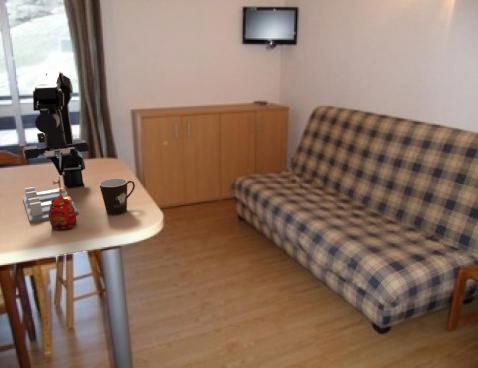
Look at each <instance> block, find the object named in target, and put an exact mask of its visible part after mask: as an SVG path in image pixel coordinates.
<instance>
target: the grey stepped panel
mask: <svg viewBox="0 0 478 368" xmlns="http://www.w3.org/2000/svg"><path fill="white" fill-rule="evenodd" d="M24 192H25V196H23V197H22V200H23V202H24V203H23V204H24V207H25V210H26V214H27V216H28V220H29V223H30V224H35V223H40V222H45V221H50V218H49V216H48V215H49V210H50V207H45V208H42V206H41V203H43V202H48V201H52V200H53V199H59V197H60V194H53V195H47V196H40V197H37V193H36V192H37V190H36V188H35V187H34V186H31V187H25V188H24ZM62 196H63V198H64V197H69V194H68V192H67V191H66V193H62ZM71 204H72V206H73V207H74V210H75V213H76V215H79V210H78V209H77V206H76V205H75V204H74V201H72V203H71Z"/></svg>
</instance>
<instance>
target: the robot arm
mask: <svg viewBox="0 0 478 368" xmlns="http://www.w3.org/2000/svg"><path fill="white" fill-rule="evenodd" d="M73 94H74V89H73V83H72V81H71V79H70V77H68V76H66V75H64V73H63V71H60V70H49V71H46V72H45V78H44V81H43V83H40V84H37V85H36V86H35V87H34V89H33V91H32V102H33V103H32V104H33V105H32V106H33V107H32V108H33V109H32V110H33V111H37V112H38V111H39V114H38V116H36V118H35V121H34V125H35V128H36V129H37V130H38V131H39V132H40V133H37V134H36V136H37V142H38V144H39V145H40V144H44V147H38V146H37V145H30V146H23V148H22V154H23V157H24V159H25V160H32V159H37V158H39V156H40V155H44V158H45V159H46V160H50V161H51V162H52V164H53V165H54V167H55V169H56V171H57V173H58V175H59V176H61V178H62V182H63V183H62V184H63V186H64V187H65V189H72V188H78V187H84V186H85V183H84V180H83V178H84V177H83V173H82V172H83V171H84V170H86V164H85V160H84V158H83V156H82V154H80V153H85V152H90V145H89V143H88V142H87V141H86V140H84V139H79V140H74V136H73V129H72V123H71V122H72V120H71V114H70V106H69V104H70V102H71V101H72V97H73V96H72V95H73ZM56 153H57V155H58V156H57V155H56Z"/></svg>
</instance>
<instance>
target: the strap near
mask: <svg viewBox="0 0 478 368" xmlns="http://www.w3.org/2000/svg"><path fill="white" fill-rule="evenodd" d="M68 196H69V195H68ZM64 199H68V200H69V202H70V203H72V202H73V199H72V198H71V196H69V197H64ZM41 206H42V208H45V207H50V206H51V201H48V202H43V203H41Z"/></svg>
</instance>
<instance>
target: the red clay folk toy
mask: <svg viewBox="0 0 478 368" xmlns="http://www.w3.org/2000/svg"><path fill="white" fill-rule="evenodd" d="M61 183H62V182H61V177H60V176H58V180H57V181H53V180H52V185H57V184H58V188H60V189H59V191H60V197H59V199H53V200H52V201H51V206H50V210H49V215H48V216H49V218H50V220H49V224H50V226H51V229H52V230H57V231H58V230H62V231H66V230H71V229H73V228H74V227H75V226H76V224H77V222H78V219H77V214H76V213H75V210H74V207H73V206H72V204H71V203H70V202H69V200H68V199H64V198H63V196H62V193H61V191H62V189H61V188H62V186H61Z"/></svg>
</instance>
